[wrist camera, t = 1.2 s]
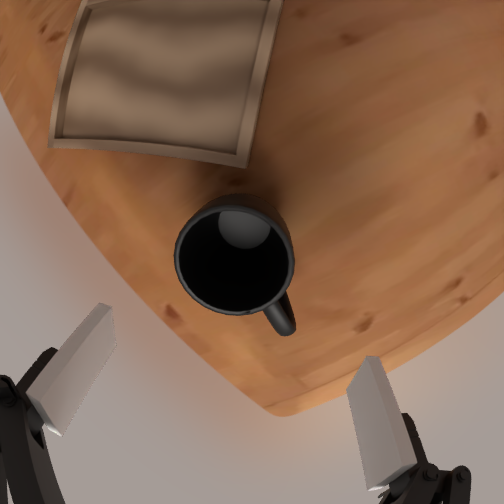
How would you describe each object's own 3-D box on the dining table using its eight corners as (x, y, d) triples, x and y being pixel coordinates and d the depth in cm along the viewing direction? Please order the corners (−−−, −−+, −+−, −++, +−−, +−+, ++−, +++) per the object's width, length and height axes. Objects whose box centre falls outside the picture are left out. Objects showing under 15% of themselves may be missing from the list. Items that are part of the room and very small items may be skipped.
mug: (250, 301, 30) (242, 362, 22) (187, 209, 27) (150, 244, 18) (317, 268, 28) (336, 324, 20) (259, 166, 25) (253, 179, 16)
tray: (125, -57, 13) (104, -76, 7) (299, -63, 13) (304, -93, 8) (62, 145, 24) (26, 151, 19) (247, 166, 25) (241, 173, 19)
